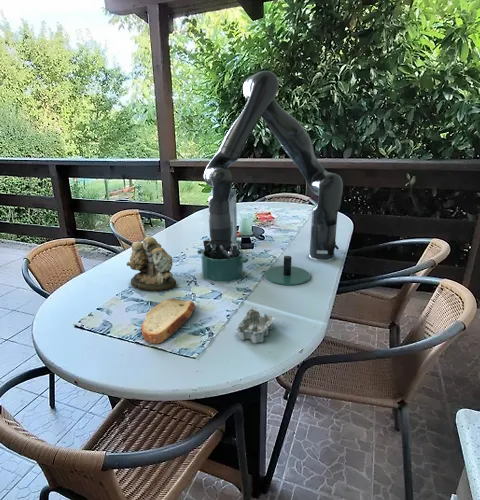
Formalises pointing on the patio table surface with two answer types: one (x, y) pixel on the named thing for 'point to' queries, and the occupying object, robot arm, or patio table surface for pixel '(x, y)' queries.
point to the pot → (222, 266)
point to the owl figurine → (151, 266)
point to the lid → (287, 274)
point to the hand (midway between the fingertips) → (222, 269)
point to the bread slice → (166, 319)
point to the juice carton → (232, 215)
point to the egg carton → (254, 326)
